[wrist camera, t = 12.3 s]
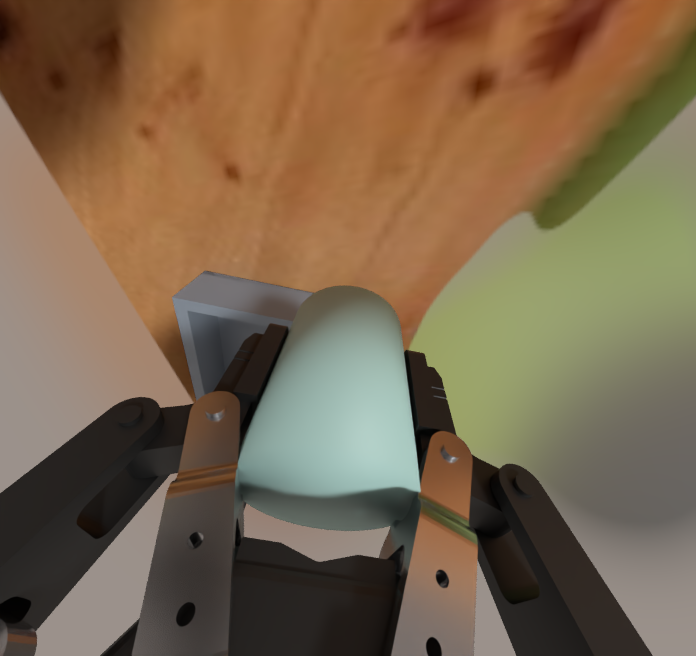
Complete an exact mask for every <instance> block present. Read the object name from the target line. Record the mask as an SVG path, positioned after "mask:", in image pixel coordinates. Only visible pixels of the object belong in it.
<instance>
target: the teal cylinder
mask: <svg viewBox="0 0 696 656" xmlns="http://www.w3.org/2000/svg"><path fill="white" fill-rule="evenodd" d="M238 464H239V487H240V494H243V500H244V502H246V503H247V504H249V505H250V506H252V507H253V508H255V509H257V510H259V511H261V512H263V513H265V514H267V515H270V516H272V517H275V518H277V519H280V520H283V521H286V522H291V523H294V524H298V525H302V526H307V527H312V528H319V529H326V530H341V531H359V530H371V529H378V528H384V527H388V526H391V524H392V523H393V522H394V521H395V520H401V521H402V520H403V519H404V518H405V516H406V515H407V513H408V511H409V509H410V506H411V503H412V500H413V498H414V497H415V496H416V494H417V493H418V492H421V489H420V476H419V468H418V460H417V452H416V444H415V436H414V428H413V421H412V413H411V405H410V397H409V389H408V381H407V373H406V365H405V357H404V350H403V342H402V334H401V326H400V321H399V319H398V316H397V314H396V312H395V310H394V309H393V308H392V306H391V305H390V304H389V303H388V302H387V301H386V300H385V299H383V298H382V297H380V296H379V295H377V294H375V293H374V292H372V291H369V290H367V289H364V288H360V287H355V286H333V287H329V288H325V289H322V290H320V291H318V292H316V293H314V294H312V295H311V296H310V297H308V298H307V299H306V300H305V301H304V302H303V303H302V305H301V306H300V307H299V309H298V311H297V313H296V316H295V318H294V320H293V323H292V325H291V327H290V330H289V332H288V335H287V337H286V339H285V342H284V344H283V346H282V349H281V351H280V354H279V356H278V358H277V361H276V363H275V366H274V368H273V370H272V373H271V375H270V377H269V380H268V382H267V385H266V387H265V389H264V392H263V394H262V396H261V399H260V401H259V404H258V406H257V408H256V411H255V413H254V415H253V418H252V420H251V423H250V425H249V427H248V430H247V432H246V434H245V437H244V439H243V442H242V444H241V446H240V451H239V458H238Z"/></svg>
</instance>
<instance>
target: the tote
mask: <svg viewBox="0 0 696 656" xmlns="http://www.w3.org/2000/svg"><path fill="white" fill-rule="evenodd" d="M312 294H314V293H311V292H306V291H301V290H296V289H292V288H287V287H282V286H277V285H272V284H267V283H262V282H257V281H253V280H248V279H243V278H238V277H233V276H228V275H223V274H219V273H214V272H209V271H204V272H203V273H202V274H200V275H199V276H198V277H197V278H195V279H194V280H193V281H192V282H190V283H189V284H188V285H187V286H185V287H184V288H183V289H182V290H181V291H179V292H178V293H177V294H176V295H174V296H173V297H172V299H173V303H174V308H175V312H176V316H177V320H178V325H179V329H180V333H181V337H182V341H183V346H184V350H185V354H186V358H187V362H188V367H189V371H190V375H191V379H192V384H193V388H194V392H195V396H196V400H198V399H199V398H201V397H202V396H204V395H206V394H208V393H211V392H213V391H214V389H215V388H216V386H217V385H218V383H219V381H220V380H221V378H222V376H223V375H224V373H225V371H226V370H227V368H228V366H229V365H230V363H231V362H232V360H233V359H234V357H235V355H236V353H237V352H238V351H239V348H240V347H241V345H242V343H243V342H244V340H245V339H247V338H248V337H249V336H251V335H252V334H254V333H259V334H264V333H265V331H266V329H267V327H268V325H269V324H270V323H273V324H278V325H283V326H288V328H289V330H290V327H291V325H292V323H293V320H294V318H295V316H296V313H297V311H298V309H299V307H300V306H301V305H302V303H303V302H304V301H305V300H306V299H307V298H308V297H310V296H311V295H312Z"/></svg>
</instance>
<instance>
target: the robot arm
mask: <svg viewBox="0 0 696 656" xmlns="http://www.w3.org/2000/svg"><path fill="white" fill-rule="evenodd" d="M288 332H289V328H288V326H283V325H278V324H273V323H270V324H269V325H268V327H267V329H266V331H265V333H264V334H259V333H254V334H252V335H251V336H249V337H248V338H247V339H245V340H244V342H243V343H242V345H241V347H240V348H239V351H238V352H237V353H236V355H235V357H234V359H233V360H232V362H231V363H230V365H229V366H228V368H227V370H226V371H225V373H224V375H223V376H222V378H221V380H220V381H219V383H218V385H217V386H216V388H215V389H214V391H213V392H211V393H208V394H206V395H204V396H202V397H201V398H199V399H198V400H197V401H196V402H195V403H194V404H190V405H185V406H175V407H165V408H160V407H159V405H158V403H157V402H156V401H154V400H153V399H150V398H145V397H138V398H132V399H128V400H125V401H123V402H120V403H118V404H117V405H115V406H113V407H112V408H110V409H109V410H108V411H107V412H105V413H104V414H103V415H101V416H100V417H99V418H97V419H96V420H95V421H94V422H92V423H91V424H90V425H88V426H87V427H86V428H85V429H83V430H82V431H81V432H79V433H78V434H77V435H75V436H74V437H73V438H72V439H70V440H69V441H68V442H66V443H65V444H64V445H62V446H61V447H60V448H59V449H57V450H56V451H55V452H54V453H52V454H51V455H49V456H48V457H47V458H46V459H44V460H43V461H42V462H40V463H39V464H38V465H36V466H35V467H34V468H33V469H31V470H30V471H29V472H28V473H26V474H25V475H23V476H22V477H21V478H20V479H18V480H17V481H16V482H14V483H13V484H12V485H11V486H9V487H8V488H7V489H5V490H4V491H3V492H1V493H0V656H34V655H35V652H36V646H37V635H36V632H35V631H36V630H37V629H38V628H39V627H40V626H41V624H42V623H43V622H44V621H45V620H46V619H47V617H48V616H49V615H50V614H51V613H52V611H53V610H54V609H55V608H56V607H57V606H58V605H59V603H60V602H61V601H62V600H63V599H64V597H65V596H66V595H67V594H68V593H69V592H70V591H71V589H72V588H73V587H74V586H75V585H76V584H77V582H78V581H79V580H80V579H81V578H82V577H83V575H84V574H85V573H86V572H87V571H88V569H89V568H90V567H91V566H92V565H93V564H94V563H95V561H96V560H97V559H98V558H99V557H100V556H101V554H102V553H103V552H104V551H105V550H106V549H107V547H108V546H109V545H110V544H111V543H112V542H113V540H114V539H115V538H116V537H117V536H118V535H119V534H120V532H121V531H122V530H123V529H124V528H125V527H126V525H127V524H128V523H129V522H130V521H131V520H132V518H133V517H134V516H135V515H136V514H137V513H138V511H139V510H140V509H141V508H142V507H143V506H144V504H145V503H146V502H147V501H148V500H149V499H150V497H151V496H152V495H153V494H154V493H155V492H156V490H157V489H158V488H159V487H160V486H161V485H162V483H163V482H164V481H165V480H166V479H167V478H168V476H169V475H170V474H174V473H178V475H177V478H176V480H175V481H172V482H171V484H170V486H169V488H168V491H167V494H166V498H165V503H164V508H163V512H162V517H161V522H160V526H159V531H158V535H157V540H156V545H155V549H154V554H153V558H152V563H151V568H150V572H149V577H148V582H147V586H146V592H145V596H144V600H143V605H142V610H141V614H140V618H139V619H138V620H137V621H136V622H135V623H134V624H133V625H132V626H131V627H130V628H129V629H128V630H127V631H126V632H125V633H123V635H121V636H120V637H119V638H118V639H117V640H116V641H115V642H114V643H113V644H112V645H111V646H110V647H109V648H108V649H107V650H106V651H104V652H103V653H102V654H101V655H100V656H474V632H475V607H476V606H475V605H476V582H477V559H478V562H479V564H480V567H481V569H482V571H483V574H484V577H485V579H486V582H487V584H488V586H489V589H490V591H491V594H492V596H493V599H494V601H495V604H496V606H497V609H498V611H499V614H500V616H501V619H502V621H503V624H504V626H505V629H506V631H507V633H508V636H509V638H510V641H511V643H512V646H513V648H514V651H515V653H516V656H652V654H651V652H650V651H649V649H648V648H647V646H646V645H645V644H644V642H643V640H642V639H641V637H640V636H639V634H638V633H637V631H636V630H635V628H634V626H633V625H632V623H631V622H630V620H629V619H628V617H627V616H626V614H625V613H624V611H623V610H622V608H621V607H620V605H619V604H618V602H617V600H616V599H615V597H614V596H613V594H612V593H611V591H610V590H609V588H608V587H607V585H606V584H605V582H604V580H603V579H602V577H601V576H600V574H599V573H598V571H597V570H596V568H595V567H594V565H593V564H592V562H591V561H590V559H589V557H588V556H587V554H586V553H585V551H584V550H583V548H582V547H581V545H580V544H579V543H578V541H577V539H576V538H575V536H574V535H573V533H572V531H571V530H570V528H569V527H568V525H567V524H566V522H565V521H564V519H563V518H562V516H561V515H560V513H559V512H558V510H557V508H556V507H555V505H554V504H553V502H552V501H551V499H550V498H549V496H548V495H547V493H546V492H545V490H544V489H543V487H542V485H541V484H540V483H539V481H538V480H537V479H536V478H535V477H534V476H533V475H532V474H531V473H530V472H529V471H527V470H526V469H524V468H522V467H521V466H518V465H515V464H506V465H504V466H502V467H501V468H500V469H499V468H497V467H494V466H492V465H490V464H488V463H486V462H484V461H482V460H480V459H478V458H477V457H475V456H473V455H472V454H471V452H470V450H469V448H468V447H467V445H466V444H465V442H464V441H463V440H461V439H460V438H459V437H458V436H457V435H456V432H455V428H454V424H453V420H452V417H451V413H450V409H449V405H448V401H447V400H446V394H445V391H444V387H443V382H442V378H441V377H440V375H439V374H438V373H437V371H436V370H435V368H433V367H428V366H427V362H426V358H425V354H424V353H420V352H414V351H409V350H406V351H405V352H404V357H405V365H406V373H407V381H408V389H409V397H410V405H411V413H412V421H413V428H414V436H415V444H416V452H417V460H418V468H419V476H420V489H421V492H418V493H417V494H416V496H415V497H414V498H413V500H412V503H411V506H410V509H409V511H408V513H407V515H406V516H405V518H404V519H403V520H402V521H401V520H395V521H394V522H393V523H392V524H391V527H390V530H389V532H388V535H387V537H386V539H385V541H384V544H383V546H382V549H381V552H380V555H379V558H374V557H368V556H362V555H355V556H350V557H345V558H340V559H334V560H329V561H323V562H317V561H314V560H312V559H310V558H308V557H307V556H305V555H303V554H301V553H299V552H297V551H295V550H293V549H291V548H289V547H288V546H286V545H284V544H282V543H279V542H272V541H266V540H260V539H254V538H247V537H244V500H243V494H240V487H239V464H238V458H239V451H240V446H241V444H242V442H243V439H244V437H245V434H246V432H247V430H248V427H249V425H250V423H251V420H252V418H253V415H254V413H255V411H256V408H257V406H258V404H259V401H260V399H261V396H262V394H263V392H264V389H265V387H266V385H267V382H268V380H269V377H270V375H271V373H272V370H273V368H274V366H275V363H276V361H277V358H278V356H279V354H280V351H281V349H282V346H283V344H284V342H285V339H286V337H287V335H288Z"/></svg>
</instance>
